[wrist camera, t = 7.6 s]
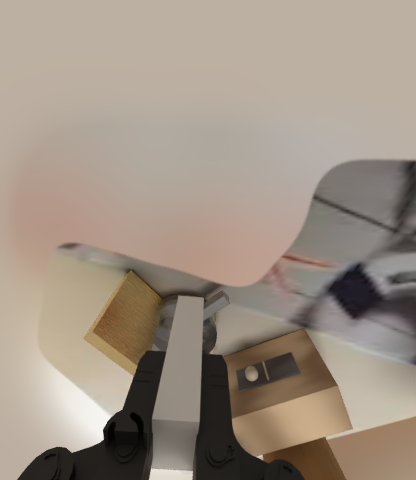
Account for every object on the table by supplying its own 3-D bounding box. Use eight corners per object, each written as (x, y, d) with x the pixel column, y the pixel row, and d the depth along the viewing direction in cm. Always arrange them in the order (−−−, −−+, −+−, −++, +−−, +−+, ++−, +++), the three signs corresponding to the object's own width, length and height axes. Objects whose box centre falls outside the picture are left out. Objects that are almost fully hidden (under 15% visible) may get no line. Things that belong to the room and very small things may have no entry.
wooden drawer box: (301, 320, 22) (383, 458, 12) (319, 367, 25) (399, 514, 15) (177, 365, 24) (159, 517, 14) (205, 404, 26) (207, 558, 16)
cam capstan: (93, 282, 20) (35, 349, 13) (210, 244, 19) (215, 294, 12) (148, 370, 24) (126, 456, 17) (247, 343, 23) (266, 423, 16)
